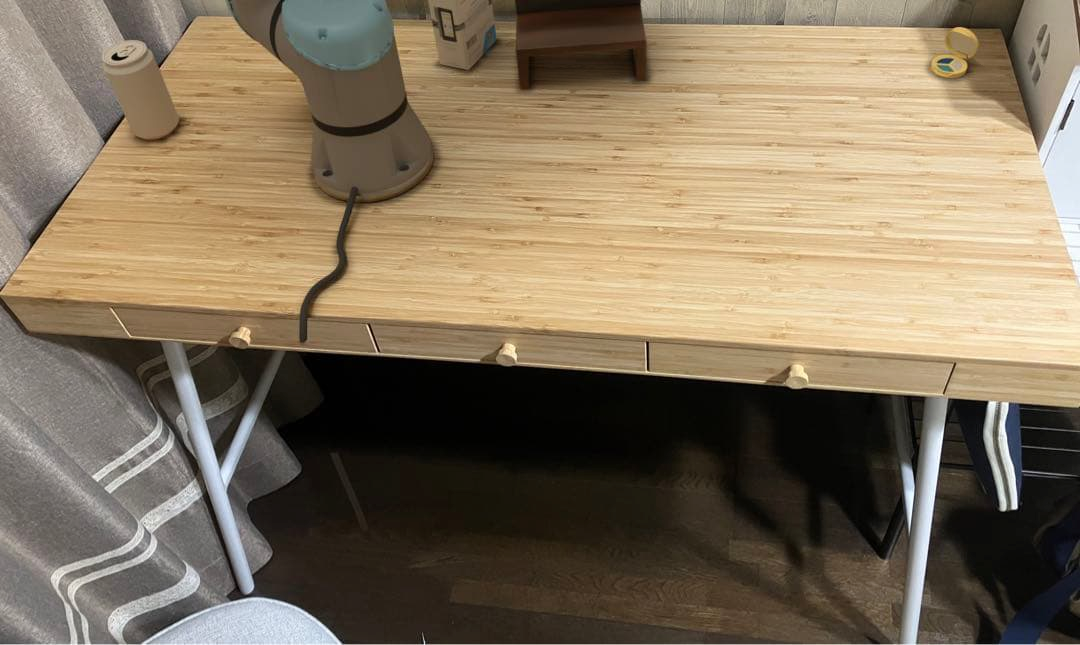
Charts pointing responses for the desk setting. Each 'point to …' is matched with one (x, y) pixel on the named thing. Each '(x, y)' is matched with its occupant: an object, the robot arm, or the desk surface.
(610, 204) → the desk surface
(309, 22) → the robot arm
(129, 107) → the beverage can
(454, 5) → the ink box
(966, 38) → the eyeshadow
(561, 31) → the brown lipped shelf
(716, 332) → the desk surface
